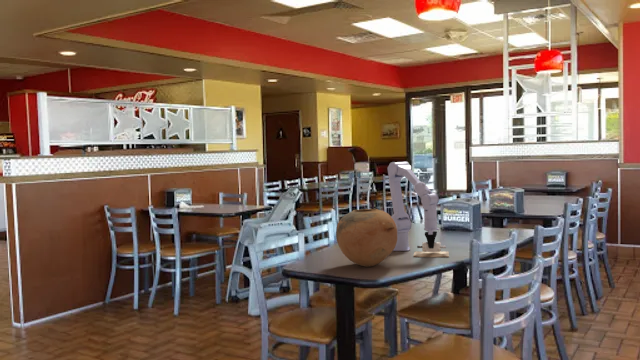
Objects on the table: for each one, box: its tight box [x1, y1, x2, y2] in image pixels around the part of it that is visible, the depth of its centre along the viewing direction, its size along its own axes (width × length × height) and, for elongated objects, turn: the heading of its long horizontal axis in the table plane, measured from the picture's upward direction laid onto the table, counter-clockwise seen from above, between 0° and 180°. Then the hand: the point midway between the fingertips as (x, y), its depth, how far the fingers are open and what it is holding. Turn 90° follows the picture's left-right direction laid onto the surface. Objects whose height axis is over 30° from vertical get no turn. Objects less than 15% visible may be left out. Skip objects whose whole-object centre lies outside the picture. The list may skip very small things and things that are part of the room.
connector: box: [416, 241, 447, 252], centre depth 264 cm, size 13×4×4 cm, turn 78°
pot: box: [335, 208, 397, 268], centre depth 245 cm, size 31×27×25 cm
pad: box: [413, 250, 450, 258], centre depth 265 cm, size 16×10×1 cm, turn 78°
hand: (431, 247), depth 264 cm, fingers closed on connector, 3 cm apart
